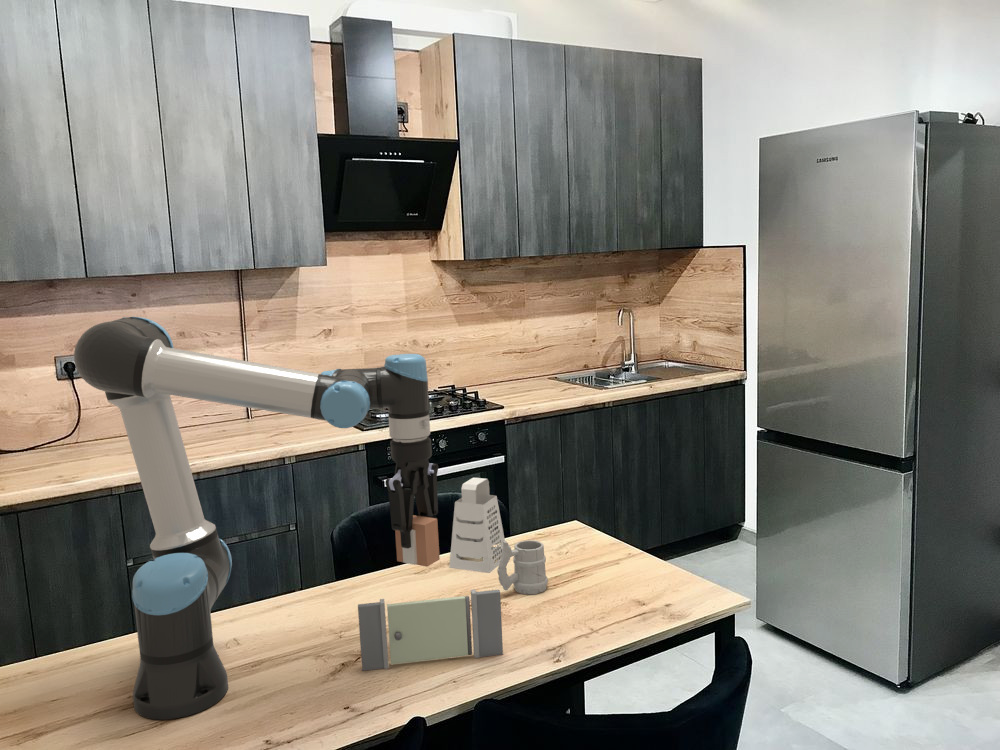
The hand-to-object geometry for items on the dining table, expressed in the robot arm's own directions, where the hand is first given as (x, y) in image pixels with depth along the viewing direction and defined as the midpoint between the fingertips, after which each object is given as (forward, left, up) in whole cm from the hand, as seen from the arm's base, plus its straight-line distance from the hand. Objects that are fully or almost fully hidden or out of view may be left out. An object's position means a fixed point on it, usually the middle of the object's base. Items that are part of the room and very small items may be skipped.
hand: (417, 558), depth 156 cm
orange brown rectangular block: (0, 0, 0) cm, 0 cm away
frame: (+1, -9, -16) cm, 19 cm away
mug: (+23, +18, -17) cm, 34 cm away
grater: (+16, +37, -17) cm, 44 cm away
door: (+1, -9, -16) cm, 18 cm away
